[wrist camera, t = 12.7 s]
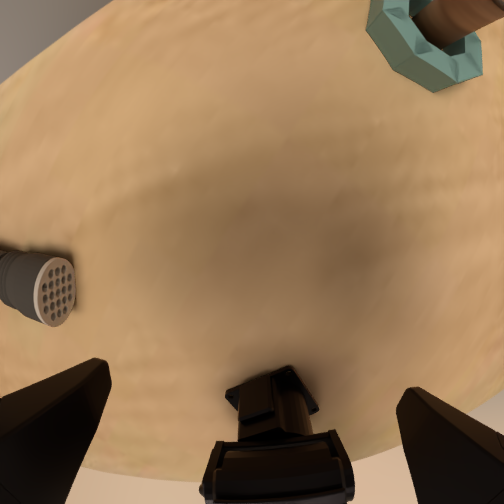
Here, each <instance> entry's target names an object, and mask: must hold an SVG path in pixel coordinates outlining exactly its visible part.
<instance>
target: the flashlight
mask: <svg viewBox="0 0 504 504" xmlns="http://www.w3.org/2000/svg"><path fill="white" fill-rule="evenodd" d="M75 296H76V286H75V272H74V269H73V267H72V265H71V264H70V262H69V261H67V260H66V259H63V258H59V257H54V256H50V255H46V254H42V253H30V254H28V253H26V252H22V251H18V250H15V251H11V252H5V251H2V250H0V299H1V301H2V302H3V303H4V304H6V305H7V306H10V307H12V308H14V309H17V310H18V311H20V312H21V313H22V314H23V315H24V316H26V317H28V318H31V319H33V320H36V321H38V322H41V323H43V324H46V325H48V326H51V327H57V326H59V325H61V324H62V323H63V322H64V321H65V320H66V319H67V318H68V316H69V314H70V312H71V310H72V308H73V305H74V301H75Z"/></svg>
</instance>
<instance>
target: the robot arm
mask: <svg viewBox="0 0 504 504" xmlns="http://www.w3.org/2000/svg"><path fill="white" fill-rule="evenodd" d="M287 371H291V372H290V373H286V372H287ZM111 387H112V381H111V376H110V370H109V365H108V363H107V361H105V360H102V359H99V358H92V359H90V360H87V361H85V362H83V363H81V364H78V365H76V366H74V367H72V368H69V369H67V370H65V371H62V372H60V373H58V374H56V375H53V376H51V377H49V378H46V379H44V380H42V381H39V382H37V383H35V384H32V385H30V386H27V387H25V388H23V389H20V390H18V391H15V392H13V393H10V394H8V395H6V396H3V397H2V399H1V398H0V504H65V502H66V499H67V497H68V494H69V492H70V489H71V487H72V484H73V482H74V479H75V477H76V475H77V472H78V470H79V468H80V466H81V463H82V461H83V459H84V457H85V455H86V452H87V450H88V448H89V446H90V444H91V441H92V439H93V437H94V435H95V433H96V430H97V428H98V425H99V422H100V419H101V416H102V413H103V410H104V407H105V405H106V402H107V399H108V396H109V393H110V390H111ZM230 395H233V396H230ZM225 398H226V399H227V400H228V401H229V402H230V404H231V405H232V406H233V407H234V408H235V409H236V410H237V411H238V421H239V424H238V442H224V441H216V444H215V447H214V449H212V452H211V455H210V458H209V462H208V465H207V468H206V471H205V474H204V477H203V480H202V484H201V485H200V487H199V492H200V494H201V495H202V496H203V497H204V498H205V503H206V504H347V502H348V501H352V500H353V498H354V494H355V481H354V474H353V469H352V466H351V462H350V459H349V457H348V455H347V453H346V451H345V449H344V447H343V444H342V442H341V440H340V438H339V436H338V434H337V432H336V430H335V429H334V430H328V432H324V433H318V434H313V431H312V426H311V421H310V417H309V415H312V414H314V413H316V412H318V411H319V406H318V404H317V403H316V401H315V400H314V398H313V397H312V395H311V394H310V392H309V391H308V389H307V388H306V386H305V384H304V383H303V381H302V380H301V378H300V377H299V375H298V374H297V372H296V371H295V369H294V368H293V367H292V366H286V367H284V368H282V369H279V370H277V371H275V372H272V373H270V374H268V375H265V376H262V377H260V378H257V379H255V380H253V381H250V382H248V383H245V384H242V385H240V386H238V387H235V388H233V389H230V390H228V391H226V393H225ZM313 408H314V409H313ZM396 415H397V419H398V424H399V429H400V434H401V439H402V444H403V449H404V453H405V456H406V460H407V463H408V467H409V470H410V474H411V477H412V481H413V485H414V488H415V493H416V497H417V501H418V504H504V435H502V434H500V433H499V432H496V431H494V430H493V429H491V428H489V427H488V426H485V425H484V424H482V423H480V422H479V421H477V420H475V419H473V418H471V417H470V416H468V415H466V414H465V413H463V412H461V411H459V410H458V409H456V408H454V407H452V406H451V405H449V404H447V403H446V402H444V401H442V400H440V399H439V398H437V397H435V396H434V395H432V394H430V393H429V392H427V391H425V390H424V389H422V388H420V387H410V388H407V389H406V390H405V392H404V394H403V396H402V398H401V399H400V401H399V403H398V405H397V407H396Z"/></svg>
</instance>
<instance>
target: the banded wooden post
mask: <svg viewBox="0 0 504 504" xmlns="http://www.w3.org/2000/svg"><path fill="white" fill-rule="evenodd" d="M503 17H504V0H433V1H431V2H430V3H429V4H428V5H427V6H425V7H424V8H423V9H422V10H421V11H420V12H418V13H417V14H416V15H415V16H414V17H413V18H412V19H411V20H412V21H413V23H414V24H415V25H416V27H417V28H418V30H419V31H420V32H421V34H422V35H423V37H424V38H425V40H426V41H427V42H429V43H431V44H432V45H434V46H435V47H437V48H438V49H440V50H441V49H443V48H445V47H447V46H448V45H450V44H452V43H454V42H456V41H457V40H459V39H461V38H463V37H465V36H467V35H468V34H470V33H472V32H474V31H476V30H478V29H480V28H482V27H484V26H486V25H488V24H490V23H492V22H494V21H496V20H498V19H500V18H503Z"/></svg>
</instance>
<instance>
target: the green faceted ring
mask: <svg viewBox="0 0 504 504" xmlns="http://www.w3.org/2000/svg"><path fill="white" fill-rule="evenodd" d="M431 1H433V0H371V4H370V10H369V16H368V21H367V27H366V31H367V32H368V34H369V35H370V36H371V38H372V39H373V41H374V42H375V43H376V45H377V46H378V48H379V49H380V51H381V52H382V54H383V55H384V57H385V58H386V60H387V61H388V63H389V64H390V66H391V67H392V69H393V71H396V72H398V73H400V74H402V75H404V76H405V77H407V78H409V79H411V80H413V81H414V82H416V83H418V84H420V85H421V86H423V87H425V88H426V89H428V90H430V91H431V92H432V93H434V92H436V91H439V90H441V89H444V88H446V87H449V86H452V85H454V84H457V83H458V84H459V83H461V82H464V81H467V80H470V79H472V78H475V77H478V76H481V75H483V71H482V50H481V41H480V39H479V38H478V36H477V34H476V33H475V31H474V32H472V33H470V34H468V35H467V36H465V37H463V38H461V39H459V40H457V41H456V42H454V43H452V44H450V45H448V46H447V47H445V48H443V51H441V50H440V49H438V48H437V47H435V46H434V45H432V44H431V43H429V42H427V41H426V40H425V38H424V37H423V35H422V34H421V32H420V31H419V30H418V28H417V27H416V25H415V24H414V23H413V21H412V20H411V19H410V17H409V15H411V16H413V17H414V16H415V15H416V14H417V13H418V12H420V11H421V10H422V9H423V8H424V7H425V6H427V5H428V4H429V3H430V2H431Z"/></svg>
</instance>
